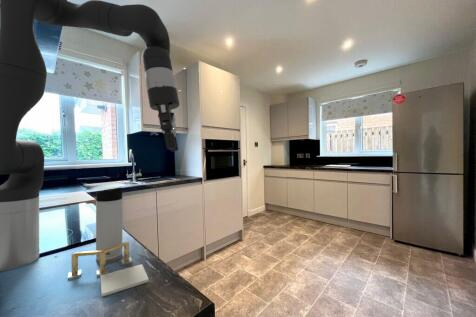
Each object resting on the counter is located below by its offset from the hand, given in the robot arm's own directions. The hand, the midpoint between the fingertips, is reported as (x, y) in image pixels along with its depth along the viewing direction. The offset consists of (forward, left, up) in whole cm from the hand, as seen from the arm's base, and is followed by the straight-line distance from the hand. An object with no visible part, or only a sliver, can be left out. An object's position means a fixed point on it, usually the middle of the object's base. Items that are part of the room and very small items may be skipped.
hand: (173, 149), depth 55 cm
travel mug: (-13, +13, -31) cm, 36 cm away
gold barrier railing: (-15, +7, -31) cm, 35 cm away
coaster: (-11, -1, -31) cm, 33 cm away
